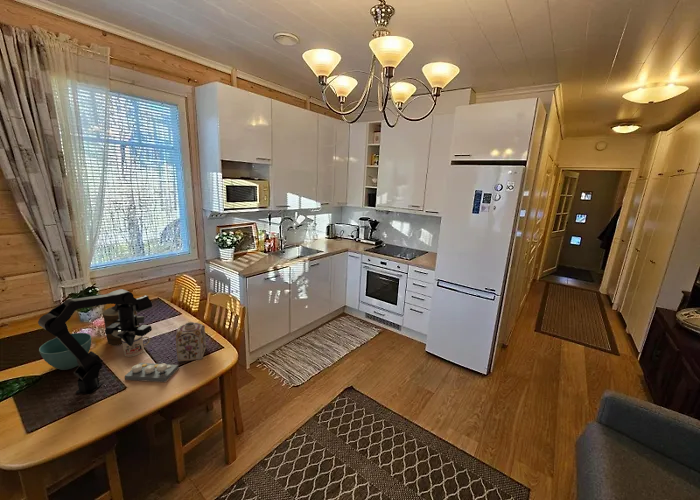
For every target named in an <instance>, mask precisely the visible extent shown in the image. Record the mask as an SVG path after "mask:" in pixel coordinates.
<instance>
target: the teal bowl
mask: <svg viewBox="0 0 700 500" xmlns="http://www.w3.org/2000/svg"><path fill="white" fill-rule="evenodd" d="M70 334H71V335H72V336H73V337H74V338H75V339H76V340H77V341H78V343H79V344H80V345H81V346H82V347H83V348H84V349H85V350H86V351H87V353H89V352H90V351H91V346H92V335H91V334H90V333H87V332H74V333H70ZM38 352H39V354H40V356H41V357H42V359H43V361H45V362H46V363H47V364H48V365H50V366H51V367H52V368H55V369H58V370H62V371H63V370H64V371H65V370H66V371H67V370H72V369H73V368H77V367H79V365H78V363H77V360H76V357H75V356H74V355H73V354H72V353H71V352H70V351H69V350H68V349H67V348H66V347H65V346H64V345H63V344H62V343H61V342H60V340H59V339H58V338H57V337H55V338H53V339H52V338H51V339H50V340H47V341H46V342H45V343H43V344H42V345H40V347H39V349H38Z"/></svg>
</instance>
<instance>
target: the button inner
mask: <svg viewBox="0 0 700 500" xmlns="http://www.w3.org/2000/svg"><path fill="white" fill-rule="evenodd" d="M131 370H132V372H133V373H139V372H140V371H142V365H141V364H139V363H138V364H135V365H133V366H132V367H131Z"/></svg>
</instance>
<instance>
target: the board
mask: <svg viewBox="0 0 700 500" xmlns="http://www.w3.org/2000/svg"><path fill="white" fill-rule="evenodd" d="M138 364H141V365H142V371H140V372H139V373H133V372H132V369H131V370H130V371H128V372H127V373H126V374H125V375H124V380H127V381H142V382H144V381H145V382H158V383H159V382H160V383H166V382H168V381H169V379H170V378H171V377H172V376H173V375H174V374H175V373H176V372H177V371H178V370H179V364H169V363H166V364H167V369H166V370H165V372H164V373H163V374H160V372H157V366H158V365H159V364H160V363H154V362H153V363H151V362H139V363H138ZM149 365H154V366H155V371H154V372H152V374H146V373H145V371H144V368H145V367H147V366H149Z"/></svg>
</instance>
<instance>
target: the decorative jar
mask: <svg viewBox="0 0 700 500" xmlns="http://www.w3.org/2000/svg"><path fill="white" fill-rule="evenodd" d="M206 341H207V338H206V329H205V325H203V324H202V323H199V322H193V321H190V322H189V321H188V322H186V323H184V324H183V325H180V326H179V327H178V328H177V330H176V334H175V348H176V356H177V362H179V363H180V362H188V361H197V360H203V357H204V354H205V351H206V349H207V342H206Z"/></svg>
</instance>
